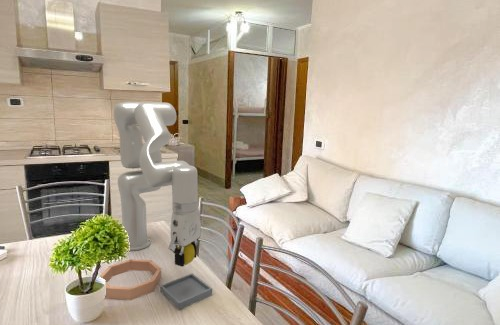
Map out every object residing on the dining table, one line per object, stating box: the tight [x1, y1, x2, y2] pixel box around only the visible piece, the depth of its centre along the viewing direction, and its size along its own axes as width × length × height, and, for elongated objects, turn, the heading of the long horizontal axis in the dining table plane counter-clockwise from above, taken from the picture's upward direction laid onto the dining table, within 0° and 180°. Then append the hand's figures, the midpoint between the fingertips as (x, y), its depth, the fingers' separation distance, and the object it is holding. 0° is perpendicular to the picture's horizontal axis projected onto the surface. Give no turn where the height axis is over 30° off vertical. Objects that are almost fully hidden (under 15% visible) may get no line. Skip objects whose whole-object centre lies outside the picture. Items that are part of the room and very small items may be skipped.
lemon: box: [178, 243, 195, 266], centre depth 102 cm, size 6×6×8 cm
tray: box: [159, 272, 213, 311], centre depth 105 cm, size 12×12×2 cm
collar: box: [99, 258, 162, 301], centre depth 110 cm, size 18×18×4 cm
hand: (185, 260), depth 103 cm, fingers closed on lemon, 5 cm apart
